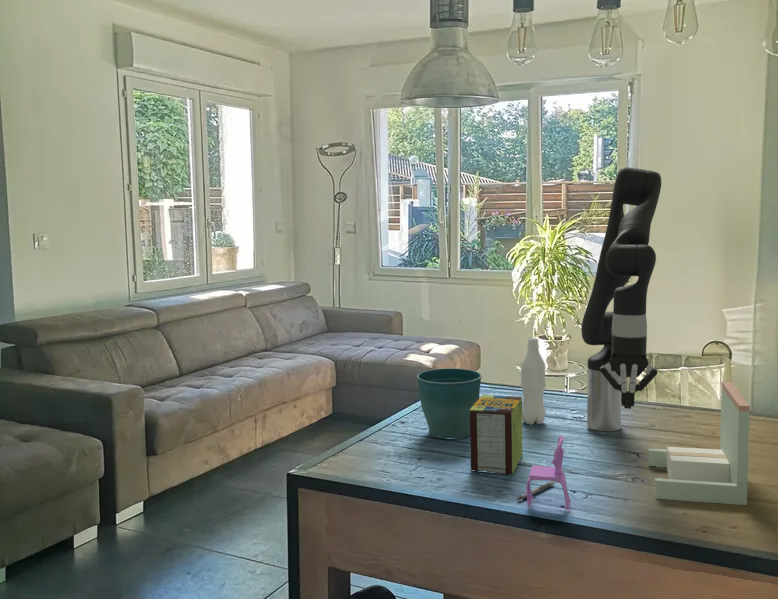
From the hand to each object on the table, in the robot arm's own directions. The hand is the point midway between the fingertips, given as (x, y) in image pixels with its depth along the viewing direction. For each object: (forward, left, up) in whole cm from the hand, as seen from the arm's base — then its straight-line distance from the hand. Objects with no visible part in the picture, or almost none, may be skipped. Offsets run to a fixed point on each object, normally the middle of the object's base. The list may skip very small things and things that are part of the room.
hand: (627, 407), depth 168 cm
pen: (-20, -13, -17) cm, 29 cm away
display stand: (+14, 0, -17) cm, 22 cm away
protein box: (-31, +5, -17) cm, 35 cm away
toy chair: (-17, -19, -17) cm, 31 cm away
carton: (+15, +3, -17) cm, 23 cm away
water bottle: (-25, +42, -17) cm, 52 cm away
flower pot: (-47, +27, -17) cm, 57 cm away
